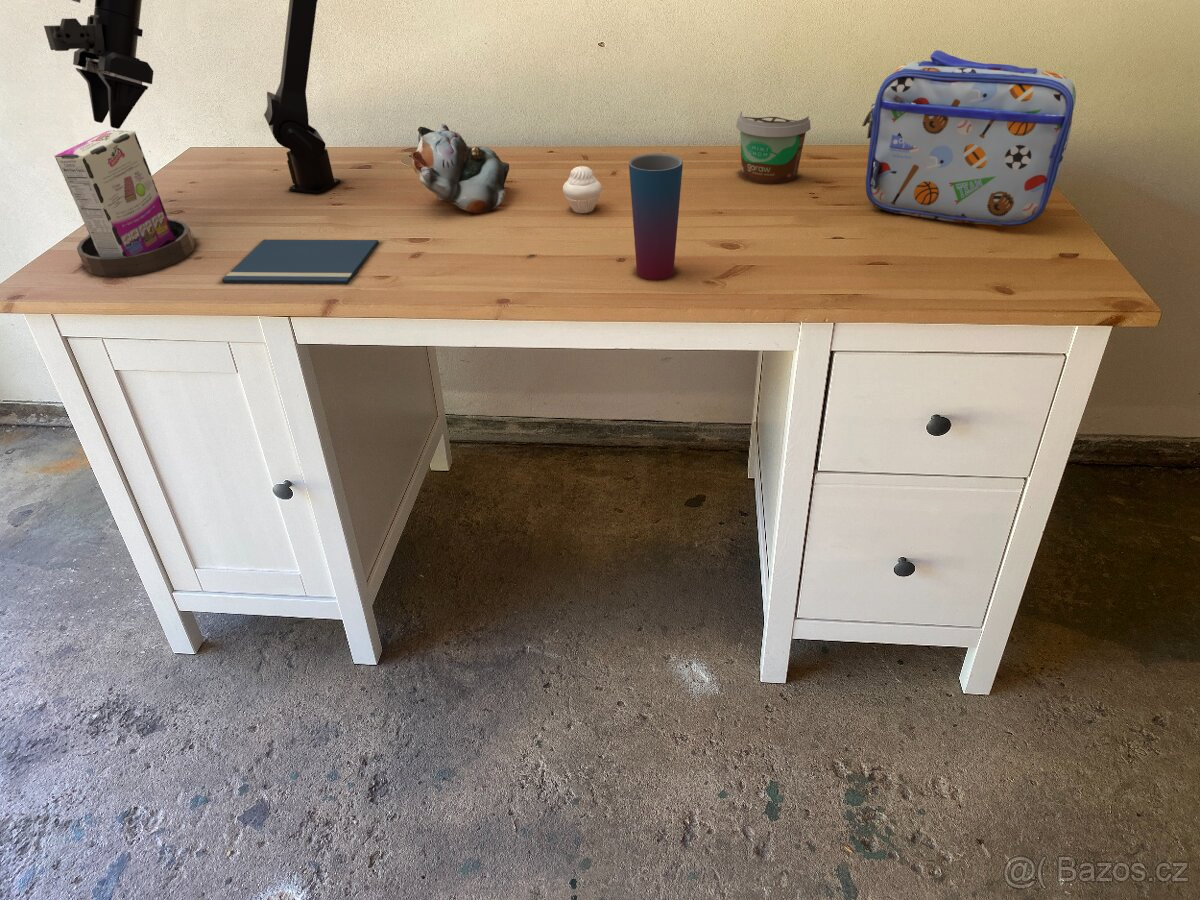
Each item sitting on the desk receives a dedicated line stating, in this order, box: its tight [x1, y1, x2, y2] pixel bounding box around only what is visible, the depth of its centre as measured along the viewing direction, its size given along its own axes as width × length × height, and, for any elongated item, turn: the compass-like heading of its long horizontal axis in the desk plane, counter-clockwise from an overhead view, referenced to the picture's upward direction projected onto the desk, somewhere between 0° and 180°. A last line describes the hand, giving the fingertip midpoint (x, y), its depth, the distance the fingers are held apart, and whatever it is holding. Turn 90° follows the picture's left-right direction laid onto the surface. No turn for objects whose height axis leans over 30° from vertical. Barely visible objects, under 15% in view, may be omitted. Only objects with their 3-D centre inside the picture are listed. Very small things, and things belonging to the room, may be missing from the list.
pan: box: [76, 218, 195, 278], centre depth 124 cm, size 15×15×3 cm
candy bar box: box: [54, 129, 175, 257], centre depth 120 cm, size 11×5×16 cm, turn 168°
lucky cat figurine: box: [410, 123, 510, 215], centre depth 134 cm, size 15×12×14 cm
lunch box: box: [861, 49, 1077, 227], centre depth 120 cm, size 28×10×22 cm, turn 62°
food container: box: [735, 110, 812, 185], centre depth 138 cm, size 12×6×10 cm, turn 68°
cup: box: [628, 152, 684, 281], centre depth 109 cm, size 7×7×15 cm
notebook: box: [221, 239, 379, 285], centre depth 120 cm, size 18×14×1 cm
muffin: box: [562, 165, 603, 214], centre depth 131 cm, size 6×6×7 cm
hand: (106, 125), depth 125 cm, fingers open, 9 cm apart
